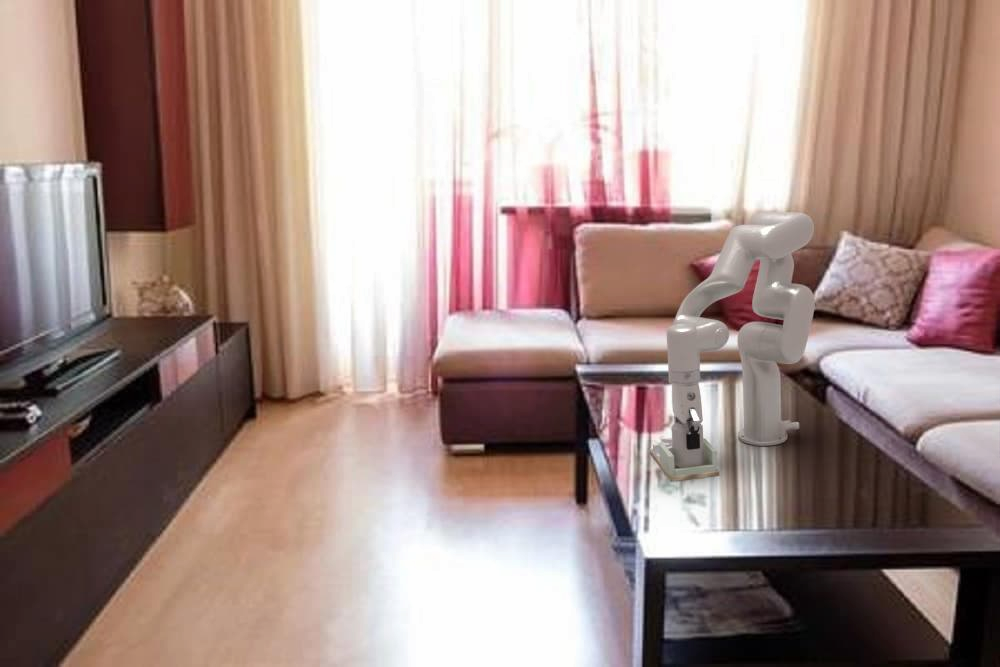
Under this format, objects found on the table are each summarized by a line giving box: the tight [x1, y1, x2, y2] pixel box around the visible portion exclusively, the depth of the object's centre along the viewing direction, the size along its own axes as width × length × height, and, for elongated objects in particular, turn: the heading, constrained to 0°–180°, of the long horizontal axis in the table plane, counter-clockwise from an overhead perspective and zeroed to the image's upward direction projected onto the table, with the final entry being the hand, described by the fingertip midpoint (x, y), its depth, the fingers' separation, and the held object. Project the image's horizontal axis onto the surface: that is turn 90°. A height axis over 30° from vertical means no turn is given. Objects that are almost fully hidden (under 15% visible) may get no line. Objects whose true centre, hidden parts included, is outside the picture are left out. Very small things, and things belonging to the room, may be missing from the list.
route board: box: [649, 448, 720, 482], centre depth 224 cm, size 12×20×1 cm, turn 5°
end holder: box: [659, 438, 719, 476], centre depth 218 cm, size 12×10×5 cm
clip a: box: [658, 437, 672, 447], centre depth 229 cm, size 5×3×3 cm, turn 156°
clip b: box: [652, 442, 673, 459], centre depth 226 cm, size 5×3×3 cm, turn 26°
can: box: [671, 418, 704, 469], centre depth 218 cm, size 8×8×12 cm
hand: (687, 442), depth 218 cm, fingers open, 9 cm apart
